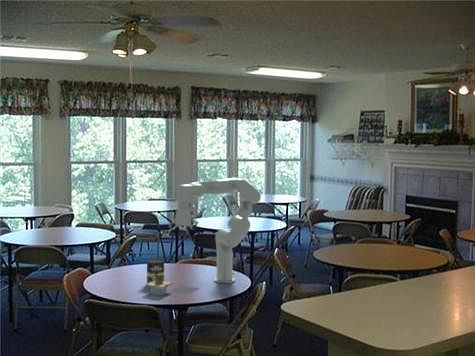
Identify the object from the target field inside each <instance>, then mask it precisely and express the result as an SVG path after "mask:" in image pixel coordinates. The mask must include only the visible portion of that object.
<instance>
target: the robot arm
mask: <svg viewBox="0 0 475 356" xmlns="http://www.w3.org/2000/svg"><path fill="white" fill-rule="evenodd" d="M230 193H231V194H232V193H239V194H238V199H239V206H238V208H237V210H236V211H234V213H233V215H232V216H231V217H230V218H229V220H228V221H227V226H228V229H225V228H221V229H219V230H217V232H216V234H215V237H214V238H215V246H216V277H214V279H213V281H214V282H215V283H217V284H232V283H235V280H236V279H235V278H234V277H233V276H234V275H235V271H233V248H235V247H237V246H238V245H239V244H241V242H242V240H243V239H244V238H245V237H246V235H247V234H248V233H249V231H250V228H251V222H250V220H249V217H250V216H251V215H252V213H253V205H256V204H258V203H259V202H260V201H261V199H262V198H261V197H262V196H261V193H260V191H259V190H258V189H256V188H255V187H254V186H253V185H252V184H251V183H249V182H248V181H247V180H246V179H243V178H239V177H231V178H223V179H222V178H221V179H214V180H213V179H211V180H205V181H196V182H190V183H187V184H183V183H182V184H179V185H178V187H177V208H176V212H175V218H173V219H171V221H170V222H171V224H172V226H173V227H174V232H175V233H174V234H175V236H179V235H180V226H184V227H189V228H190V229H189V236H190V237H194V235H195V229H196V228H197V227H198V224H199V222H198V221H197V220H196V219H195V214H194V210H193V206H194V204H193V203H192V198H193V197H194V198H195V197H196V198H200V197H203V196H204V195H205V194H209V195H222V194H223V195H224V194H230Z"/></svg>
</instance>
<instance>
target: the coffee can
mask: <svg viewBox="0 0 475 356" xmlns="http://www.w3.org/2000/svg"><path fill="white" fill-rule="evenodd" d="M156 274H163V281H165V260H164V259H159V258H157V259H152V258H151V259H148V260H146V284H148V283H150V282H152V281H155V275H156Z"/></svg>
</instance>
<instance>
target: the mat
mask: <svg viewBox="0 0 475 356" xmlns="http://www.w3.org/2000/svg"><path fill="white" fill-rule="evenodd" d="M199 289H200V288H199V287H194V286H186V285H181V286H179V287H176V288H174V289H172V290H171V292H174V293H175V292H176V293H182V294H183V293H184V294H189V295H190V294H191V293H193V292H195V291H197V290H199Z"/></svg>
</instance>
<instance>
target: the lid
mask: <svg viewBox="0 0 475 356" xmlns="http://www.w3.org/2000/svg"><path fill="white" fill-rule="evenodd" d="M172 285H174V284H173V281H168V280H167V281H166V280H164V281H163V274H156V275H155V281H152V282H150V283H148V284H147V283H145V284H144V286H145V288H146V287H147V288H151V287H152V288H159V289H163V288H166V287H167V288H168V287H171V286H172Z"/></svg>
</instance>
